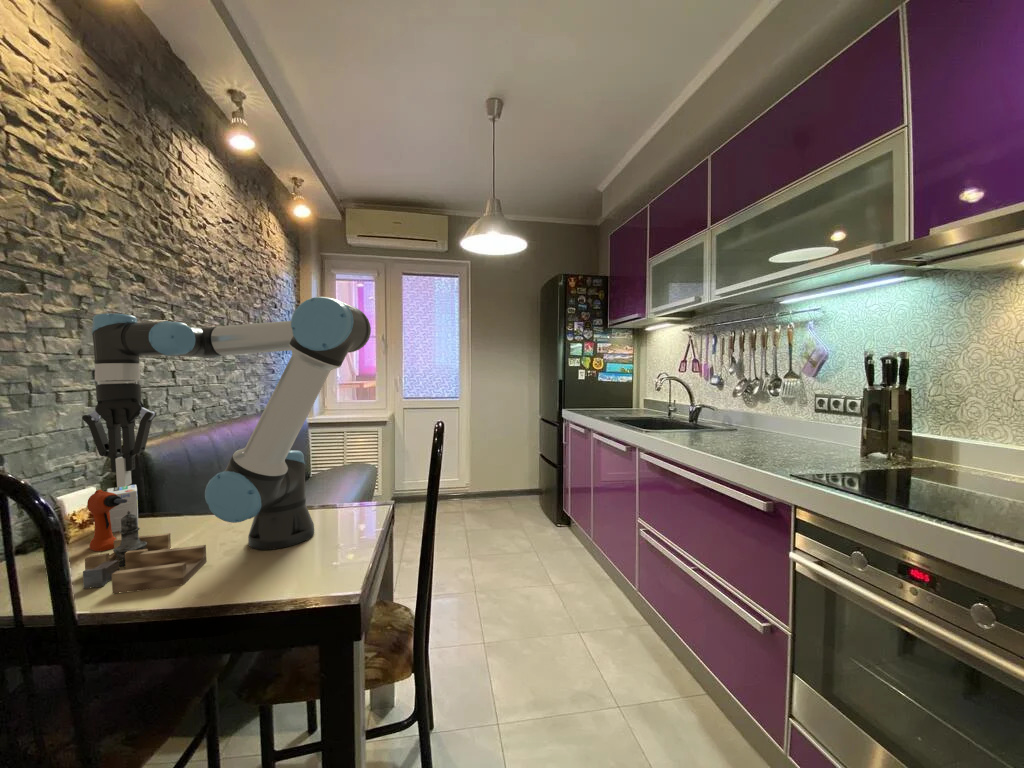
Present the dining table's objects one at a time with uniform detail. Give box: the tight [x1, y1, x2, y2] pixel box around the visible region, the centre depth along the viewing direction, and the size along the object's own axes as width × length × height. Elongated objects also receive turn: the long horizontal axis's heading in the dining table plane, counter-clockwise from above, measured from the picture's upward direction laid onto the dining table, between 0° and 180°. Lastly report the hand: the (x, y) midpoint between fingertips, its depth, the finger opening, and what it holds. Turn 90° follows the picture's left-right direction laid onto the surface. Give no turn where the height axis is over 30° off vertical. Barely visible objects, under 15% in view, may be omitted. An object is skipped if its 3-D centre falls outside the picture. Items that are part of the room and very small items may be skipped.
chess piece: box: [112, 511, 147, 568], centre depth 99 cm, size 6×6×12 cm
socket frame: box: [84, 532, 172, 570], centre depth 99 cm, size 11×11×4 cm
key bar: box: [82, 559, 120, 589], centre depth 89 cm, size 3×6×4 cm, turn 15°
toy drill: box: [86, 489, 127, 552], centre depth 106 cm, size 5×19×15 cm, turn 62°
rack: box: [111, 544, 208, 594], centre depth 91 cm, size 12×11×4 cm
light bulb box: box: [106, 484, 139, 533], centre depth 123 cm, size 11×7×11 cm, turn 43°
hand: (124, 485), depth 97 cm, fingers closed
